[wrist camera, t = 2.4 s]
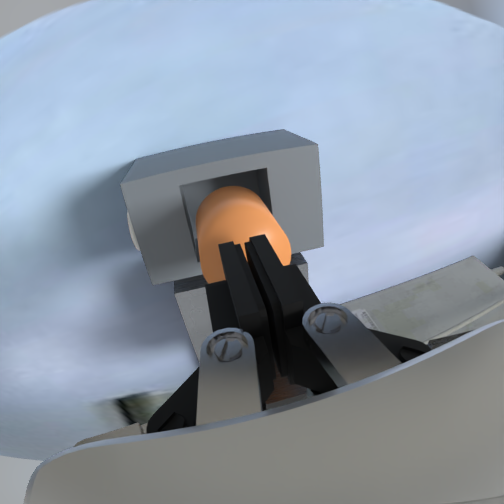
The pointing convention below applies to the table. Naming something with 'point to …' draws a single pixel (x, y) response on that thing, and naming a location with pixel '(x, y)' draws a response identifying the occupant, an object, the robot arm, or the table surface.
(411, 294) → the geiger counter
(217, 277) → the button
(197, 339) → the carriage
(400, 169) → the table surface
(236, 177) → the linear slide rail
